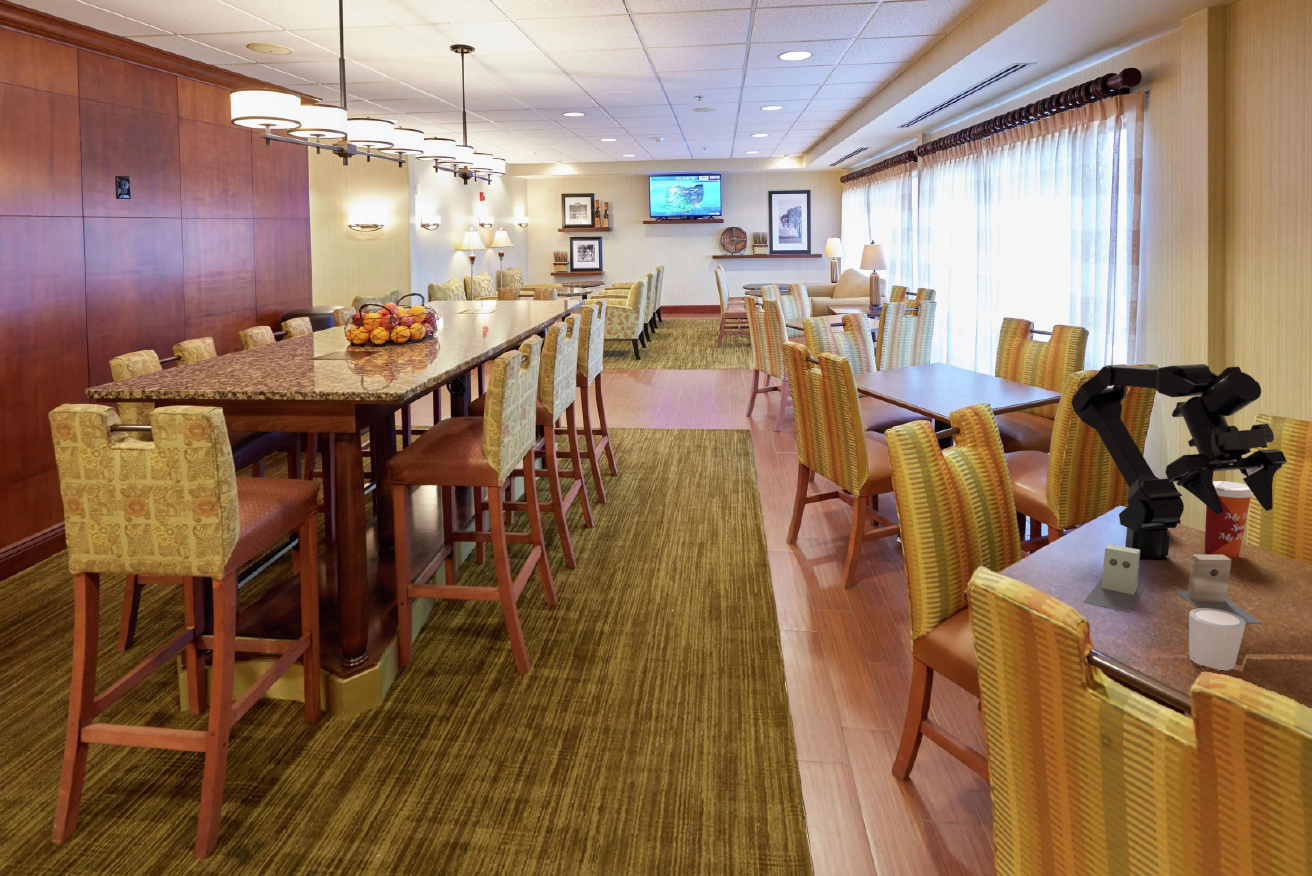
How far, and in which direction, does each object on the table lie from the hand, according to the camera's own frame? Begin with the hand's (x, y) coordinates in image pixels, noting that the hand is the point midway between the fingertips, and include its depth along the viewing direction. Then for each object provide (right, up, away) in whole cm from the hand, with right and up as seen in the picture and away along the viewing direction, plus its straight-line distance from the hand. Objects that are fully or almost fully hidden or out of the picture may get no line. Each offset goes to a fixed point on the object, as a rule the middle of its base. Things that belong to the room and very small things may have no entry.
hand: (1245, 511), depth 141 cm
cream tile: (-5, -15, +3) cm, 16 cm away
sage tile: (-17, -14, +8) cm, 23 cm away
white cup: (-17, -21, -17) cm, 32 cm away
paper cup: (+12, -11, +24) cm, 29 cm away
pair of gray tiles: (-13, -16, +3) cm, 21 cm away
